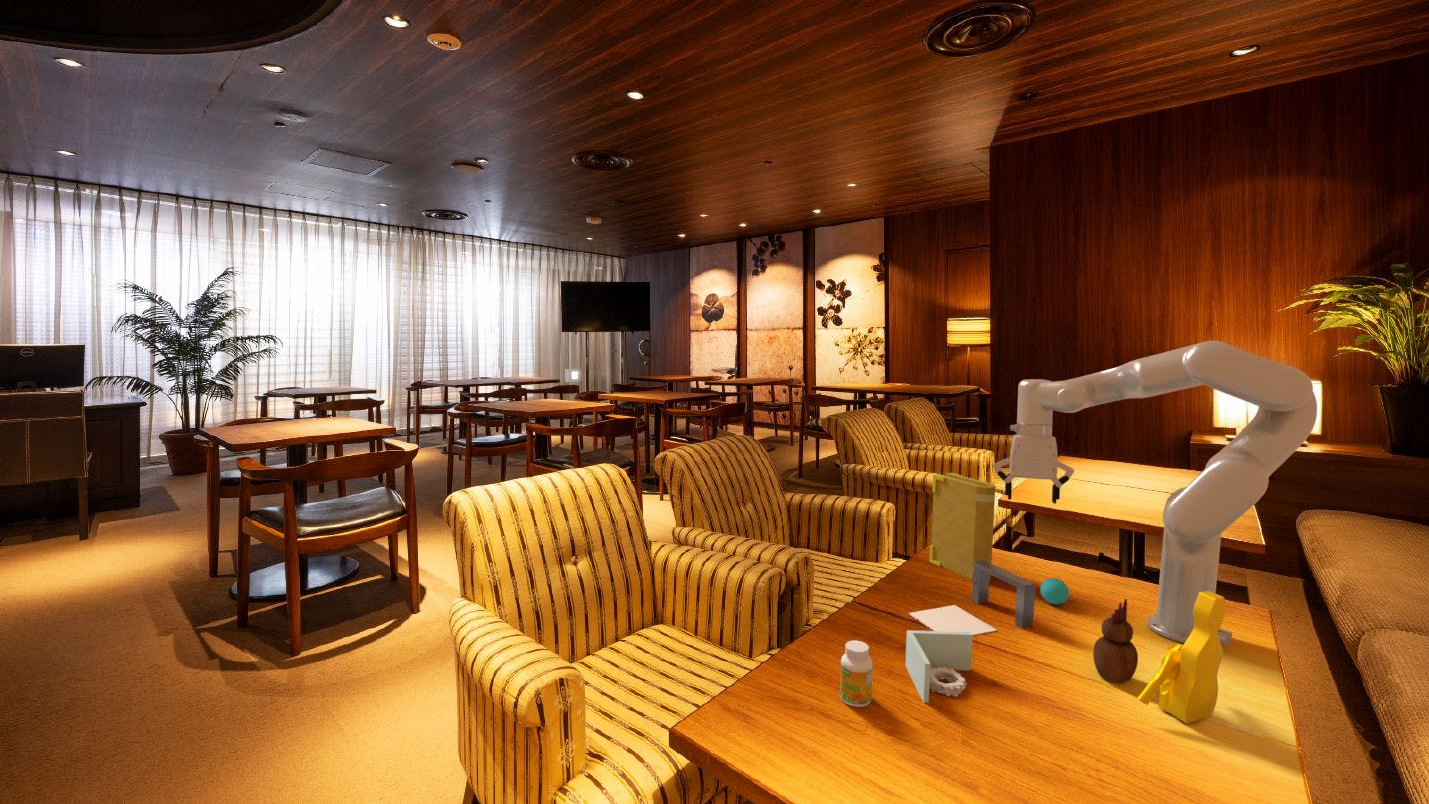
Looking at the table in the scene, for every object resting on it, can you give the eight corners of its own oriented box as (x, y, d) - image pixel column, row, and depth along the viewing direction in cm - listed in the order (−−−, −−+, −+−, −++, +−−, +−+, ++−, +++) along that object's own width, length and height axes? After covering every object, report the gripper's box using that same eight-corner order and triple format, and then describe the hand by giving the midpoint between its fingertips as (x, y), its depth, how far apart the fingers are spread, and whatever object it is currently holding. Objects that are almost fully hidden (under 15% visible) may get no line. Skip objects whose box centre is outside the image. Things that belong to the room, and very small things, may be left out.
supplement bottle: (834, 700, 106) (835, 647, 105) (848, 686, 110) (849, 635, 109) (863, 712, 102) (865, 657, 101) (876, 697, 106) (878, 644, 105)
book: (929, 561, 171) (933, 474, 169) (947, 558, 174) (951, 472, 172) (977, 583, 156) (982, 488, 154) (996, 579, 159) (1001, 485, 156)
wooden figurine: (1120, 669, 116) (1126, 593, 114) (1142, 686, 110) (1149, 607, 108) (1085, 669, 116) (1091, 594, 114) (1106, 687, 110) (1112, 607, 108)
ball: (1074, 606, 143) (1076, 582, 142) (1055, 610, 141) (1056, 585, 140) (1052, 596, 148) (1054, 572, 148) (1033, 599, 146) (1035, 575, 146)
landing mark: (996, 630, 131) (997, 630, 131) (947, 640, 126) (947, 639, 126) (954, 605, 143) (954, 605, 143) (908, 613, 139) (908, 613, 139)
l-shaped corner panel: (923, 705, 105) (925, 663, 104) (905, 667, 117) (906, 630, 116) (994, 707, 104) (996, 666, 104) (968, 669, 116) (970, 632, 115)
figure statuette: (1195, 691, 109) (1206, 573, 106) (1246, 717, 101) (1259, 590, 99) (1125, 712, 102) (1135, 586, 100) (1173, 741, 95) (1185, 606, 93)
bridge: (981, 598, 147) (983, 560, 146) (1032, 626, 133) (1035, 583, 132) (971, 600, 146) (973, 561, 145) (1022, 628, 132) (1024, 585, 131)
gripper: (994, 431, 146) (992, 500, 148) (1077, 434, 139) (1074, 507, 141) (994, 427, 153) (992, 493, 155) (1073, 430, 146) (1070, 500, 148)
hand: (1031, 500), depth 148 cm, fingers open, 9 cm apart
